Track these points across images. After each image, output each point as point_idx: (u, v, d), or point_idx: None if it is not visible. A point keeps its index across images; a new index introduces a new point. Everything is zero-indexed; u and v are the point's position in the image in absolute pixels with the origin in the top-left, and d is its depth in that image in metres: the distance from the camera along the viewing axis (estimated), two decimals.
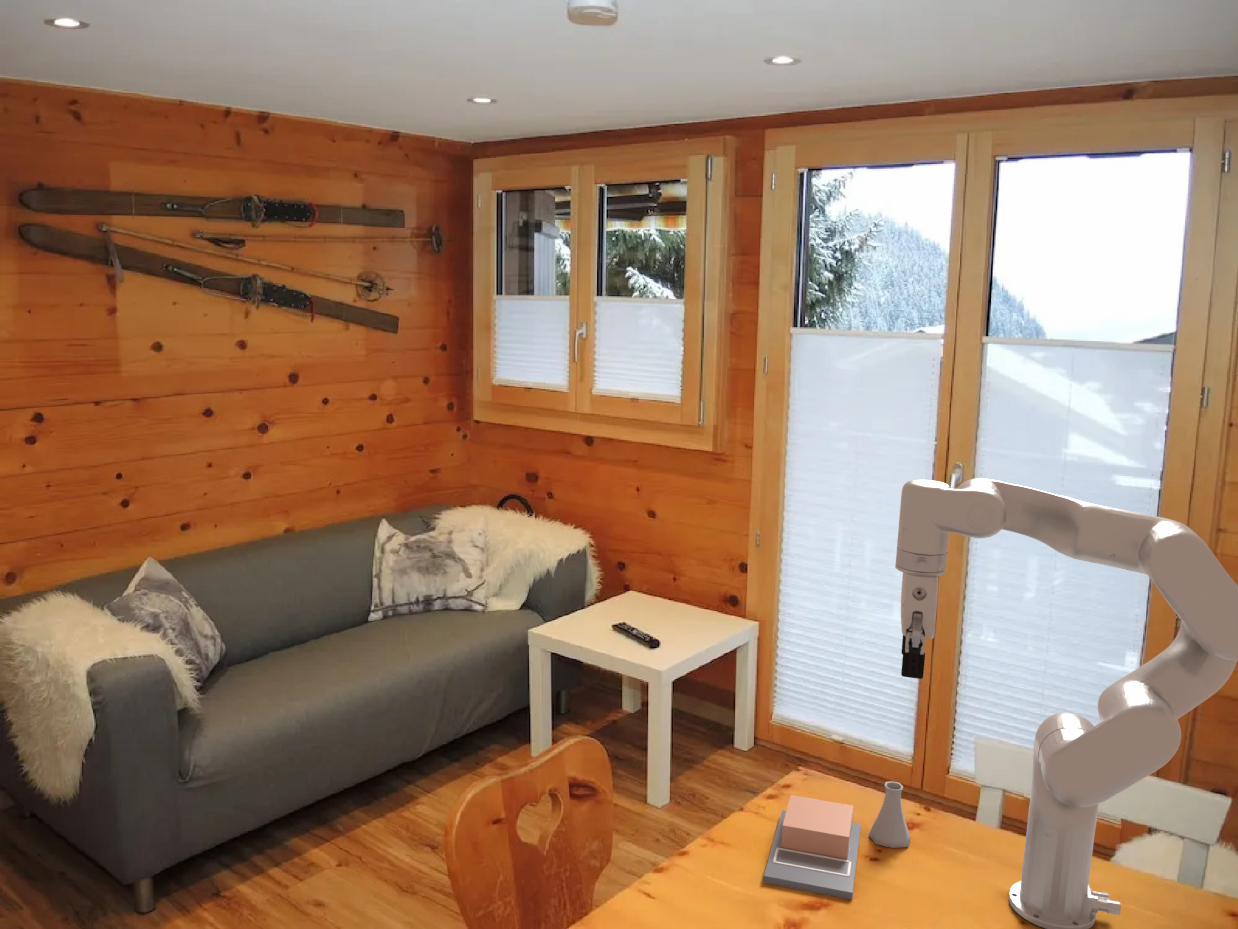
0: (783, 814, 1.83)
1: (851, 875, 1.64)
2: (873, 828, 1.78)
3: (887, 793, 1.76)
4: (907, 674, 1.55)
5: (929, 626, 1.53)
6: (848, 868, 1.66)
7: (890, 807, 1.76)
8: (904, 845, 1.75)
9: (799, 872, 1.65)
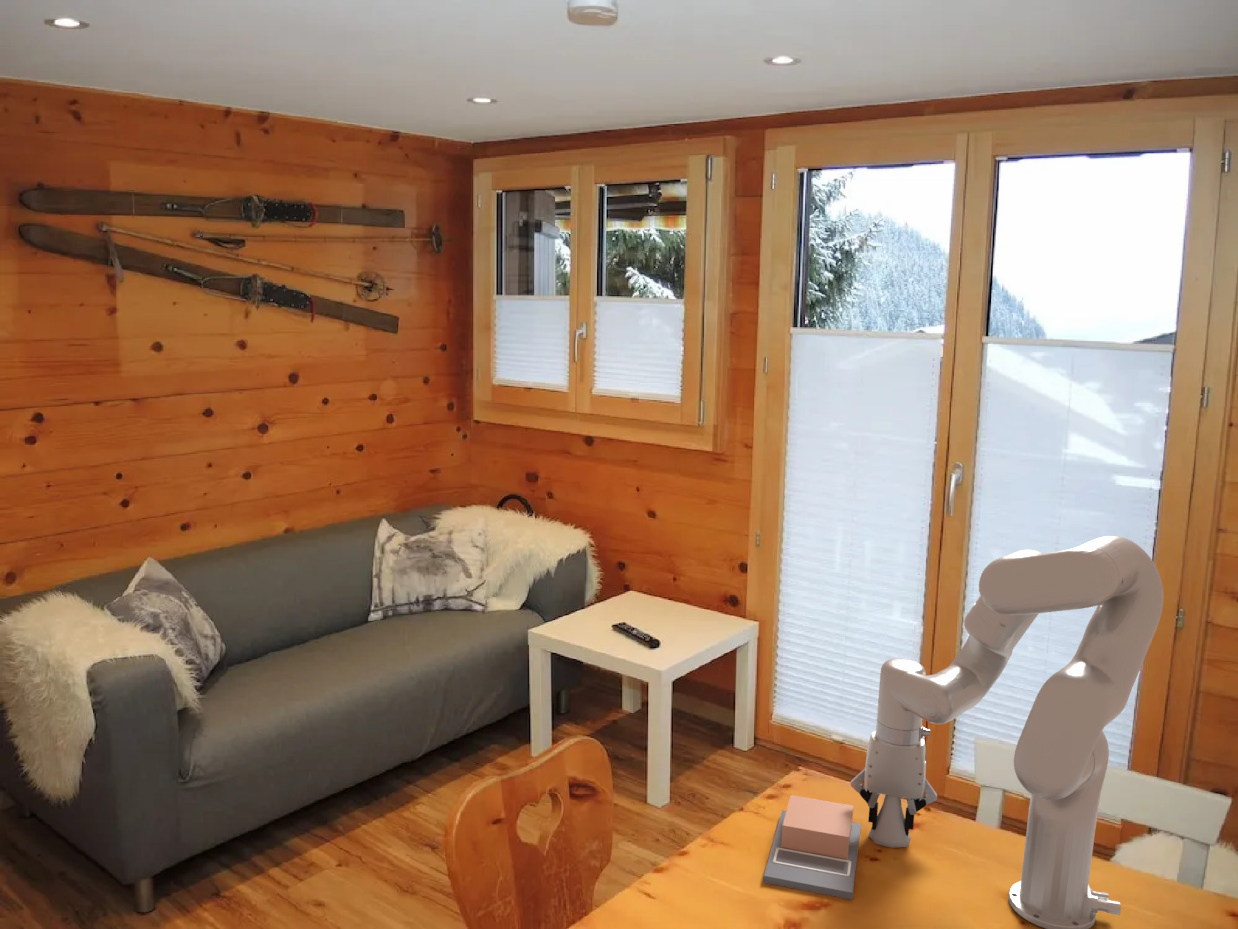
0: (783, 814, 1.83)
1: (851, 875, 1.64)
2: None
3: None
4: None
5: None
6: (848, 868, 1.66)
7: (890, 807, 1.76)
8: (904, 845, 1.75)
9: (799, 872, 1.65)
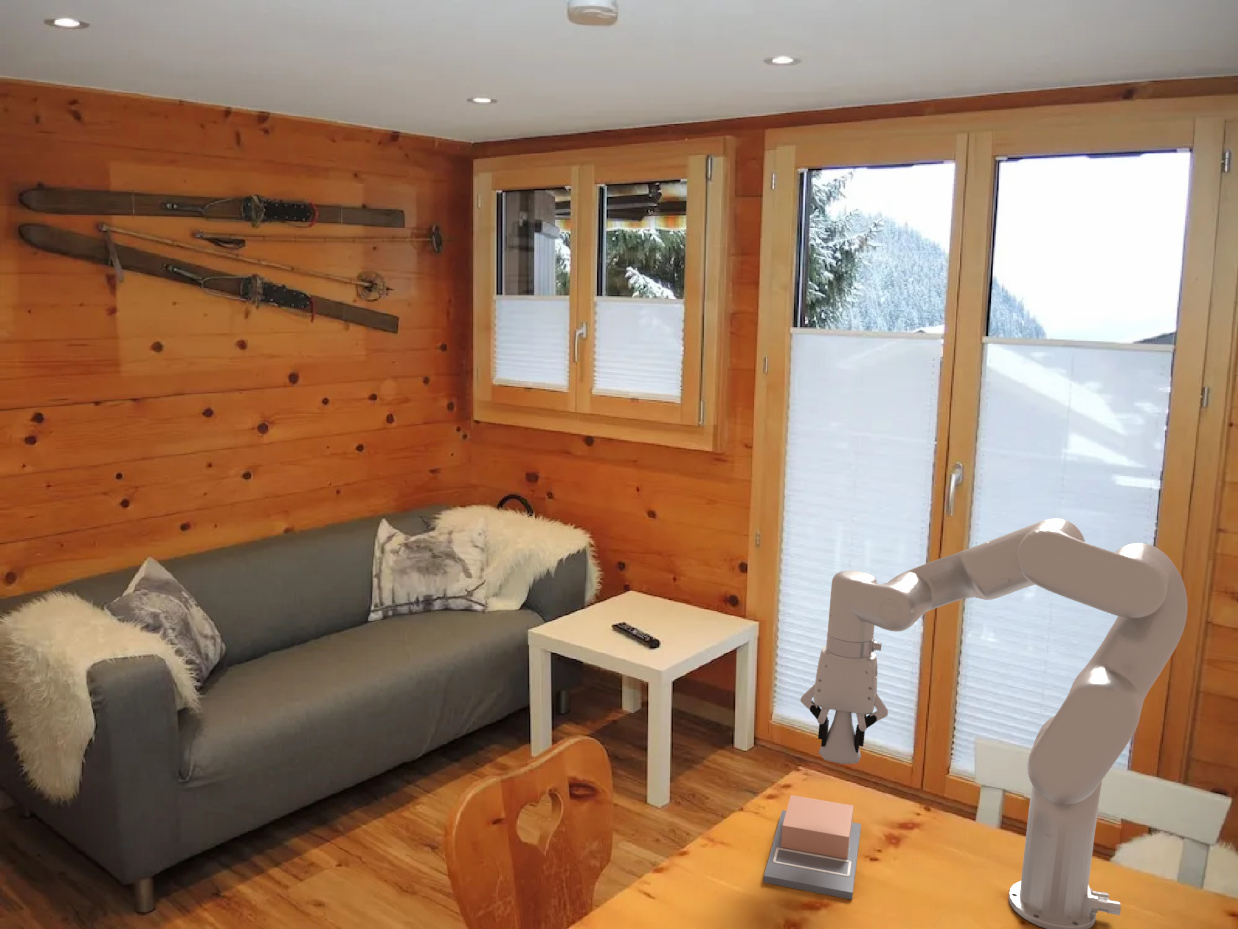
0: (783, 814, 1.83)
1: (851, 875, 1.64)
2: None
3: None
4: (858, 749, 1.72)
5: None
6: (848, 868, 1.66)
7: (840, 723, 1.71)
8: (853, 762, 1.71)
9: (799, 872, 1.65)
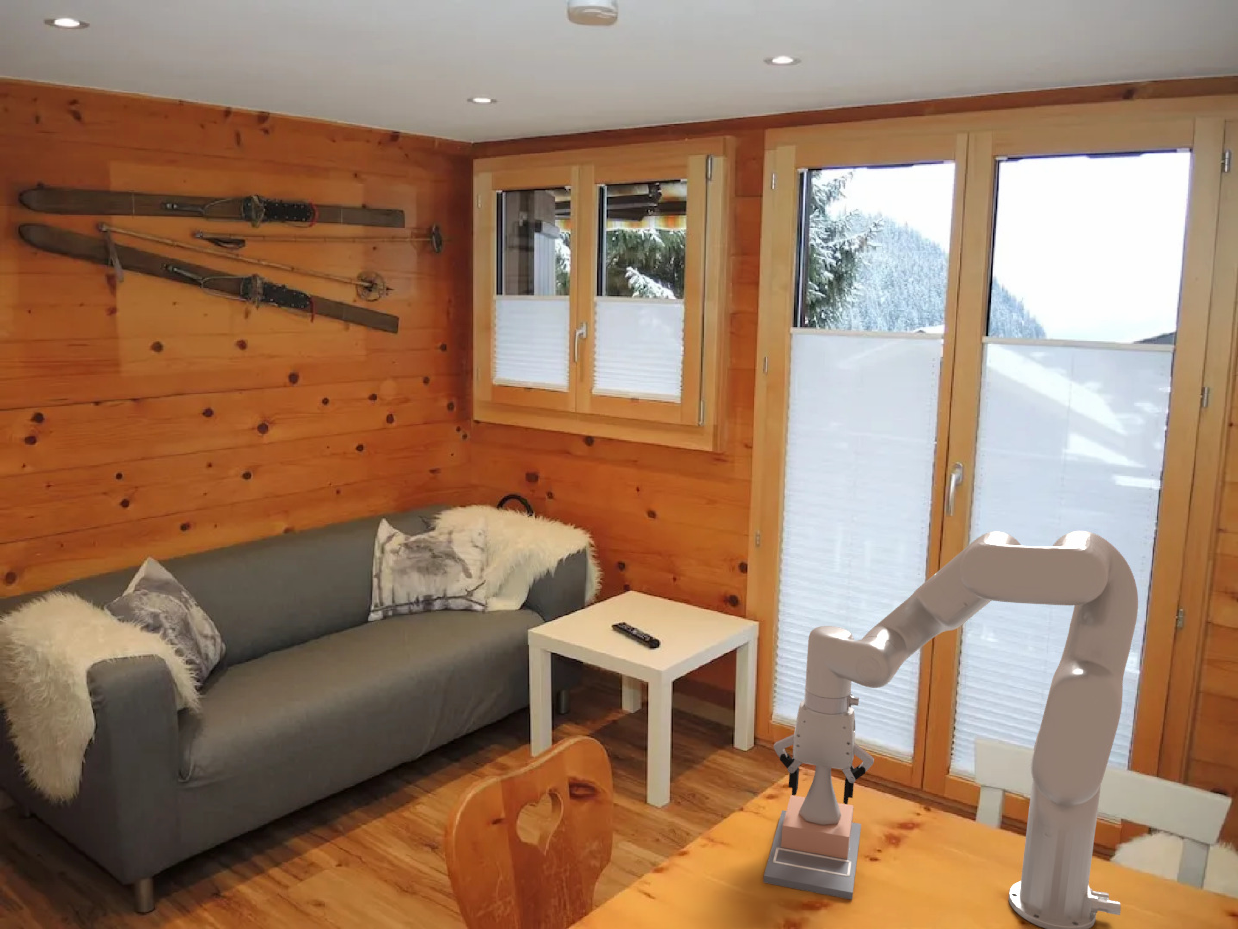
0: (783, 814, 1.83)
1: (851, 875, 1.64)
2: (803, 805, 1.74)
3: (817, 769, 1.73)
4: None
5: None
6: (848, 868, 1.66)
7: (820, 783, 1.72)
8: (833, 822, 1.72)
9: (799, 872, 1.65)
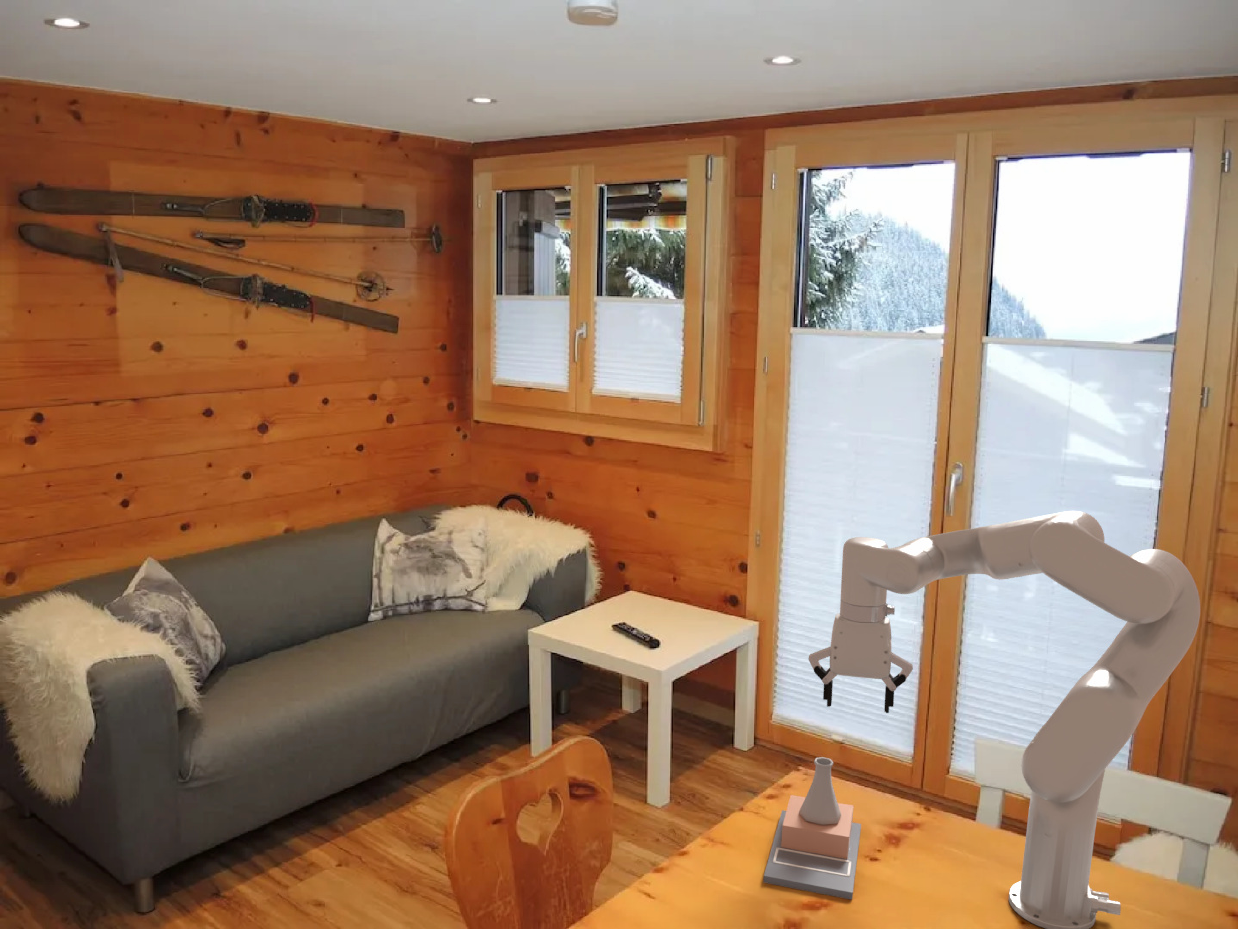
0: (783, 814, 1.83)
1: (851, 875, 1.64)
2: (803, 805, 1.74)
3: (817, 769, 1.73)
4: None
5: None
6: (848, 868, 1.66)
7: (820, 783, 1.72)
8: (833, 822, 1.72)
9: (799, 872, 1.65)
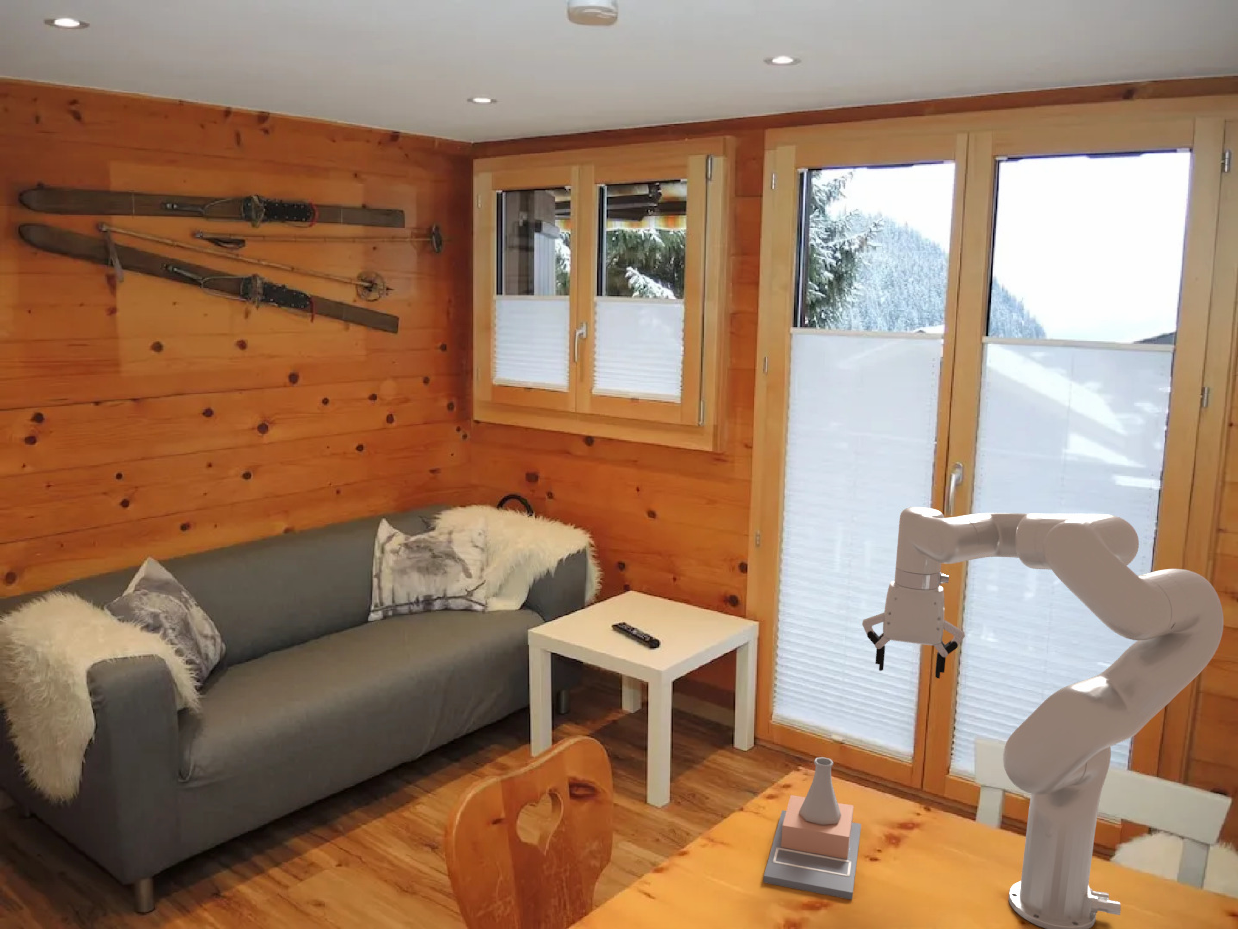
0: (783, 814, 1.83)
1: (851, 875, 1.64)
2: (803, 805, 1.74)
3: (817, 769, 1.73)
4: None
5: None
6: (848, 868, 1.66)
7: (820, 783, 1.72)
8: (833, 822, 1.72)
9: (799, 872, 1.65)
